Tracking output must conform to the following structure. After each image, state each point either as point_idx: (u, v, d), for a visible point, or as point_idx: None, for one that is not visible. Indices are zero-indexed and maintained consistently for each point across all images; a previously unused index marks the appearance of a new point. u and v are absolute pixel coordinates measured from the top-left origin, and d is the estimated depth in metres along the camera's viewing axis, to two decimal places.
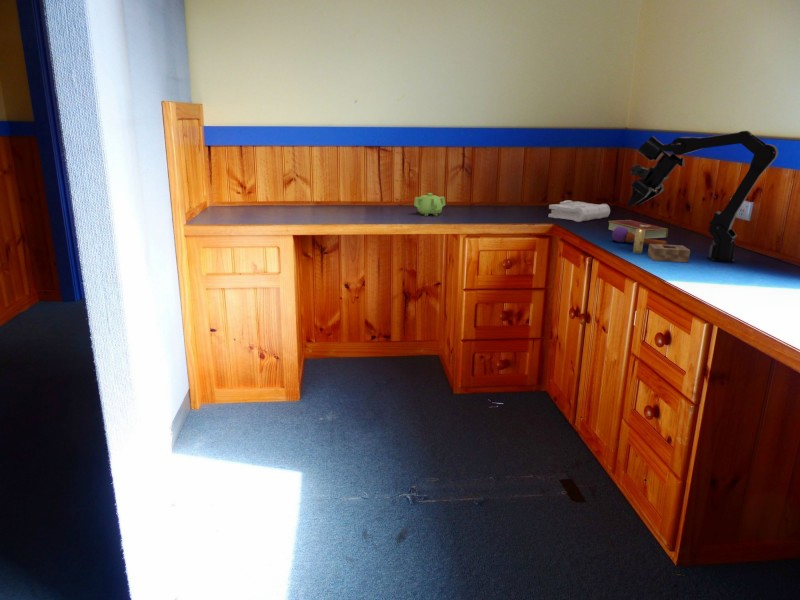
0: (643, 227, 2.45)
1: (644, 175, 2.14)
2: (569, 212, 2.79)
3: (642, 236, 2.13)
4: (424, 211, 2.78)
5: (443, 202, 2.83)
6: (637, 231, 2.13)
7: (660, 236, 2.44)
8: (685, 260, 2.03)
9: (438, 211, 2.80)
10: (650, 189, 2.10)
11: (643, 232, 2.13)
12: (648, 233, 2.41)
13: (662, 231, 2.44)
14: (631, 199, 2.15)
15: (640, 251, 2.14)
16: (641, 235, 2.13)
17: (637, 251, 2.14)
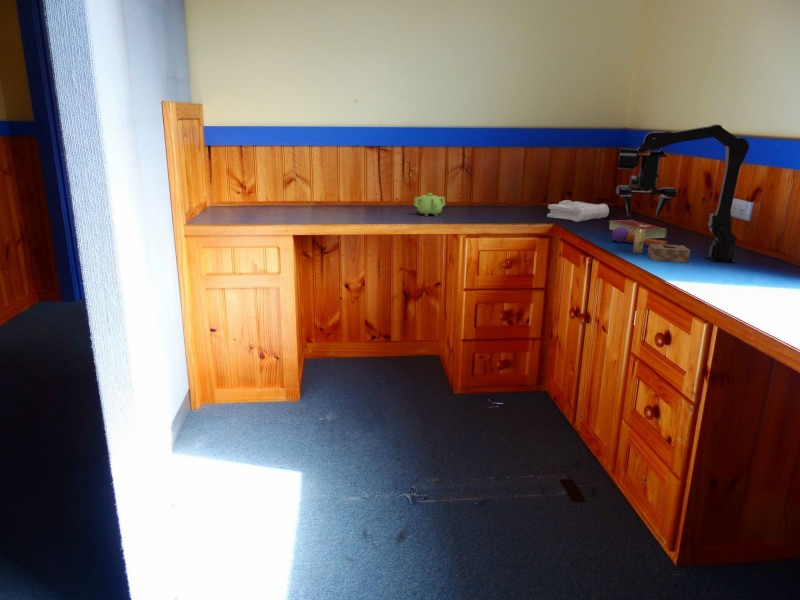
0: (642, 227, 2.45)
1: (636, 182, 2.12)
2: (568, 212, 2.79)
3: (642, 236, 2.13)
4: (424, 211, 2.78)
5: (443, 202, 2.83)
6: (637, 231, 2.13)
7: (659, 236, 2.43)
8: (685, 260, 2.03)
9: (438, 211, 2.80)
10: (627, 188, 2.08)
11: (643, 232, 2.13)
12: (646, 233, 2.41)
13: (661, 231, 2.43)
14: (626, 207, 2.13)
15: (640, 251, 2.14)
16: (641, 235, 2.13)
17: (637, 251, 2.14)
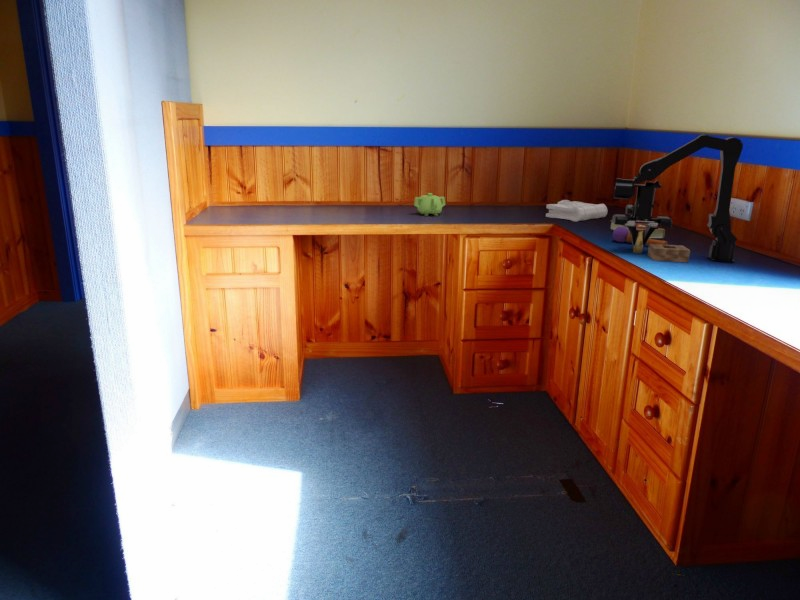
0: (639, 227, 2.45)
1: (632, 211, 2.15)
2: (566, 212, 2.79)
3: (642, 236, 2.13)
4: (424, 211, 2.78)
5: (443, 202, 2.83)
6: (637, 231, 2.13)
7: (656, 236, 2.43)
8: (685, 260, 2.03)
9: (438, 211, 2.80)
10: (623, 218, 2.11)
11: (643, 232, 2.13)
12: None
13: (658, 232, 2.42)
14: (631, 236, 2.15)
15: (640, 251, 2.14)
16: (641, 235, 2.13)
17: (637, 251, 2.14)
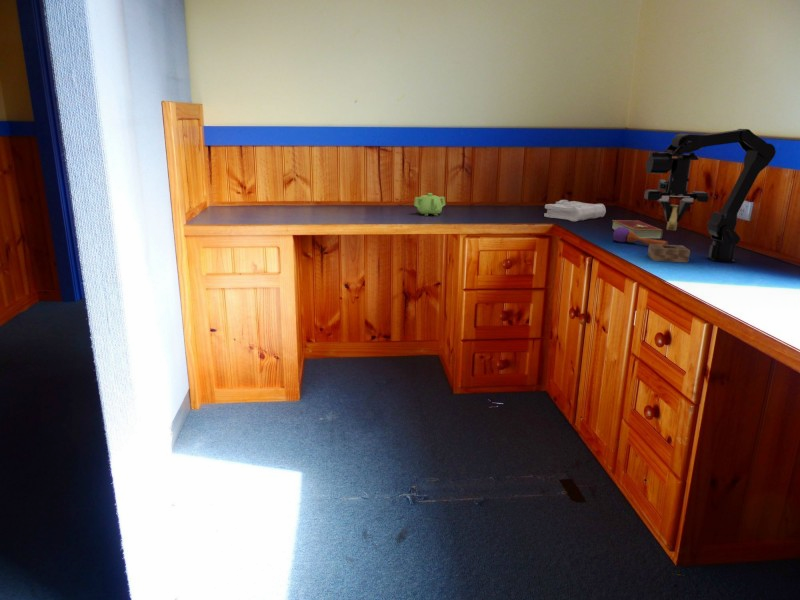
0: (637, 227, 2.45)
1: (665, 186, 2.04)
2: (565, 212, 2.79)
3: (676, 212, 2.02)
4: (424, 211, 2.78)
5: (443, 202, 2.83)
6: (671, 207, 2.02)
7: (653, 237, 2.42)
8: (685, 260, 2.03)
9: (438, 211, 2.80)
10: (657, 193, 2.00)
11: (678, 208, 2.01)
12: (638, 233, 2.41)
13: (656, 232, 2.42)
14: (664, 212, 2.04)
15: (674, 228, 2.03)
16: (675, 211, 2.02)
17: (671, 228, 2.03)
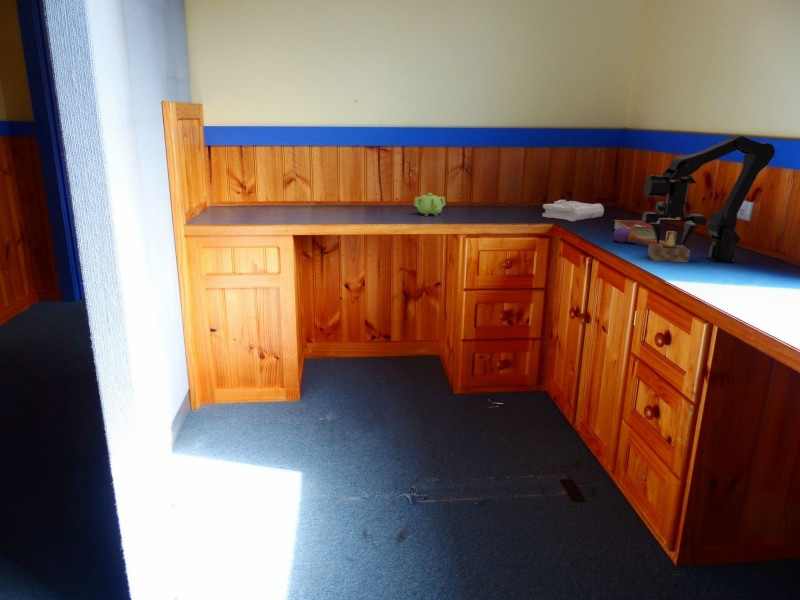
0: (634, 227, 2.45)
1: (663, 208, 2.06)
2: (563, 212, 2.80)
3: (673, 238, 2.04)
4: (424, 211, 2.78)
5: (443, 202, 2.83)
6: (668, 233, 2.04)
7: (650, 237, 2.42)
8: (685, 260, 2.03)
9: (438, 211, 2.80)
10: (655, 215, 2.01)
11: (674, 234, 2.04)
12: None
13: (652, 232, 2.41)
14: (655, 234, 2.06)
15: None
16: (672, 238, 2.04)
17: None
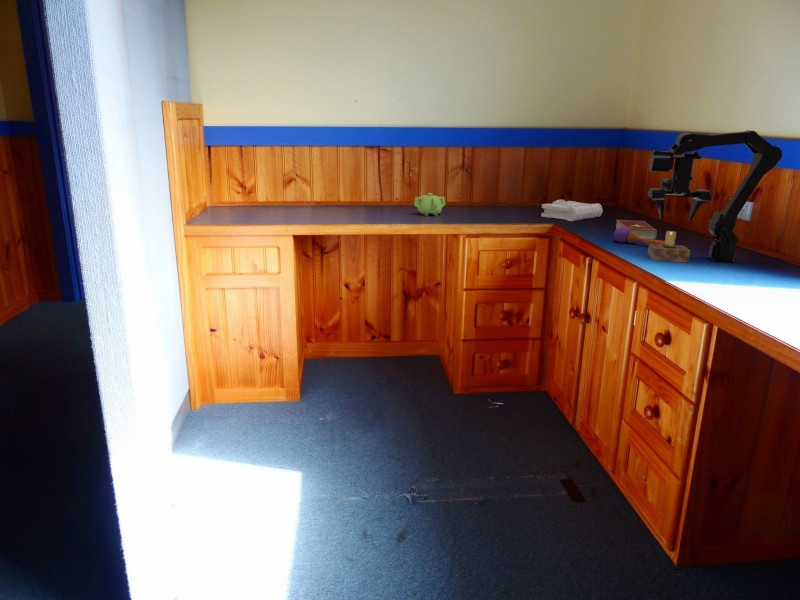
0: (632, 226, 2.46)
1: (668, 185, 2.06)
2: (562, 211, 2.80)
3: (673, 238, 2.04)
4: (424, 211, 2.78)
5: (443, 202, 2.83)
6: (668, 233, 2.04)
7: (647, 237, 2.42)
8: (685, 260, 2.03)
9: (438, 211, 2.80)
10: (661, 191, 2.02)
11: (674, 234, 2.04)
12: None
13: (650, 232, 2.41)
14: (658, 210, 2.07)
15: None
16: (672, 237, 2.04)
17: None
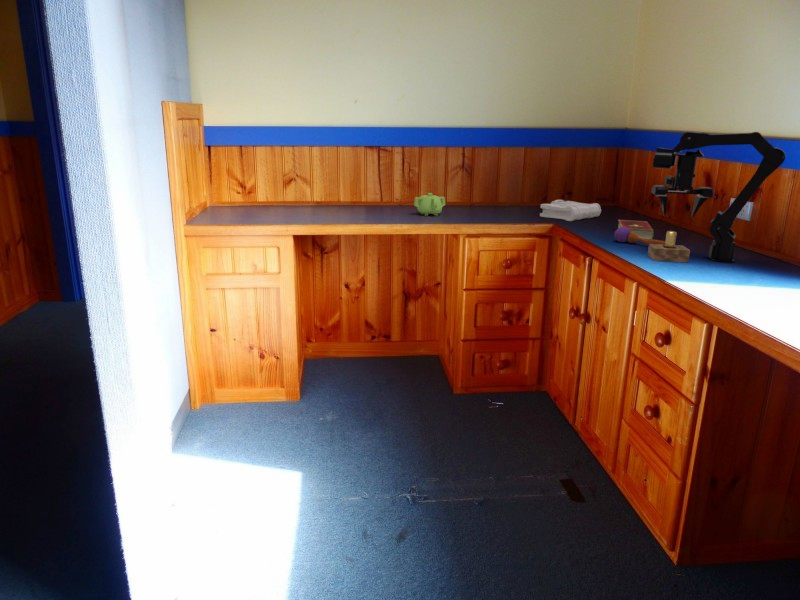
0: (630, 226, 2.46)
1: (672, 182, 2.11)
2: (560, 211, 2.80)
3: (674, 239, 2.04)
4: (424, 211, 2.78)
5: (443, 202, 2.83)
6: (668, 233, 2.04)
7: (644, 237, 2.42)
8: (685, 260, 2.03)
9: (438, 211, 2.80)
10: (664, 188, 2.07)
11: (675, 235, 2.03)
12: None
13: (647, 232, 2.41)
14: (662, 207, 2.12)
15: None
16: (672, 238, 2.04)
17: None
